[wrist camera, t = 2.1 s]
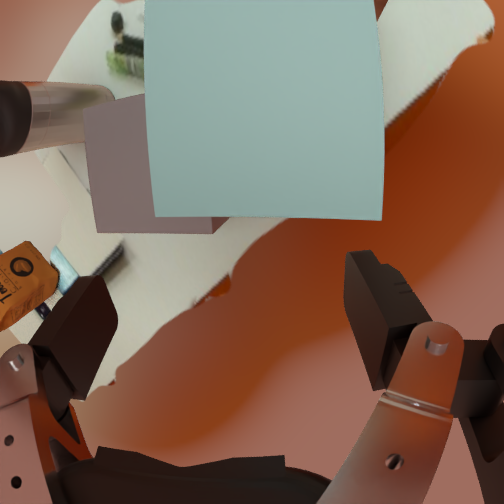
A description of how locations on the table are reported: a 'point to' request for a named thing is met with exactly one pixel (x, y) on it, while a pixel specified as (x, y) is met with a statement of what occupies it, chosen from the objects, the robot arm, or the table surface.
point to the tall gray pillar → (128, 173)
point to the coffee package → (23, 282)
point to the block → (264, 108)
